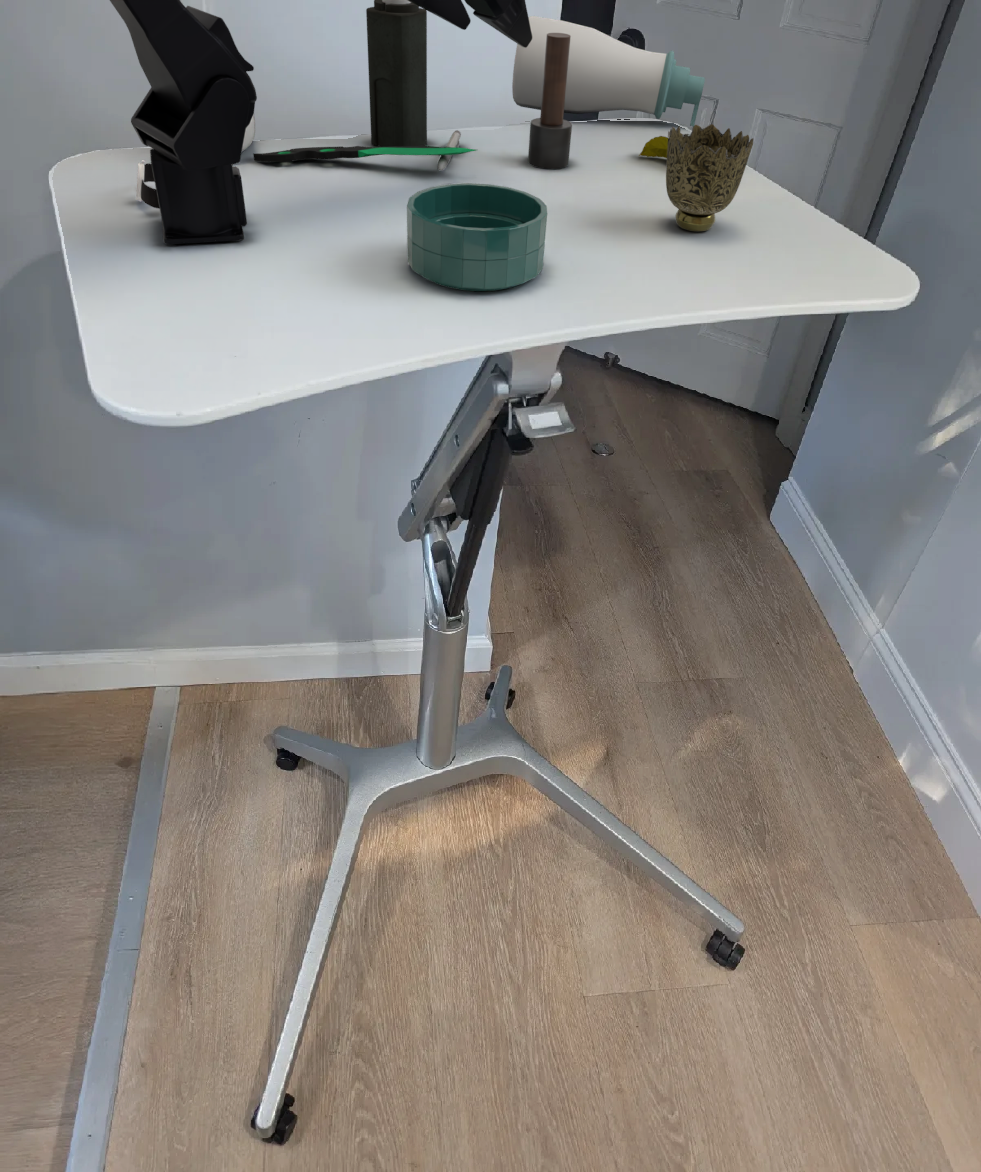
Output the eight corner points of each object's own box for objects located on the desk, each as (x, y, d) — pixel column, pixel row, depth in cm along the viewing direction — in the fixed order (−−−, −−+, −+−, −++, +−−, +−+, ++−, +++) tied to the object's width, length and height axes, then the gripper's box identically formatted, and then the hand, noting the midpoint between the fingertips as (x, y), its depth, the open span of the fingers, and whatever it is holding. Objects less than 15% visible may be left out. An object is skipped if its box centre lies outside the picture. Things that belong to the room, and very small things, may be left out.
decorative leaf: (718, 174, 96) (711, 149, 93) (706, 188, 96) (698, 164, 93) (653, 152, 102) (644, 128, 99) (641, 166, 102) (632, 142, 99)
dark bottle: (431, 143, 101) (431, -143, 85) (404, 153, 97) (399, -143, 81) (394, 134, 103) (388, -147, 86) (366, 144, 99) (354, -147, 83)
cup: (707, 210, 88) (724, 121, 82) (749, 237, 82) (771, 143, 77) (639, 216, 85) (653, 125, 80) (679, 244, 80) (696, 148, 75)
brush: (535, 170, 95) (545, 39, 87) (522, 157, 98) (530, 30, 90) (574, 168, 96) (587, 39, 88) (560, 156, 99) (571, 30, 91)
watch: (137, 189, 84) (128, 148, 82) (189, 187, 86) (182, 146, 83) (136, 217, 79) (127, 174, 77) (192, 215, 80) (185, 172, 78)
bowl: (426, 300, 69) (426, 234, 65) (395, 247, 76) (394, 186, 73) (560, 289, 71) (567, 225, 68) (517, 240, 79) (521, 180, 76)
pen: (462, 141, 101) (462, 128, 100) (444, 179, 91) (444, 164, 90) (453, 141, 101) (453, 127, 100) (434, 178, 91) (434, 163, 90)
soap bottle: (507, 105, 109) (693, 137, 108) (520, 10, 104) (715, 42, 103) (517, 105, 118) (689, 135, 116) (529, 18, 113) (709, 47, 111)
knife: (248, 154, 92) (267, 146, 96) (250, 163, 92) (269, 154, 96) (470, 153, 87) (481, 144, 91) (471, 161, 88) (481, 152, 92)
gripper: (531, -201, 66) (617, -27, 79) (389, -208, 77) (485, -54, 89) (444, -67, 67) (542, 83, 80) (316, -92, 78) (420, 44, 91)
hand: (496, 34), depth 85 cm, fingers open, 9 cm apart
